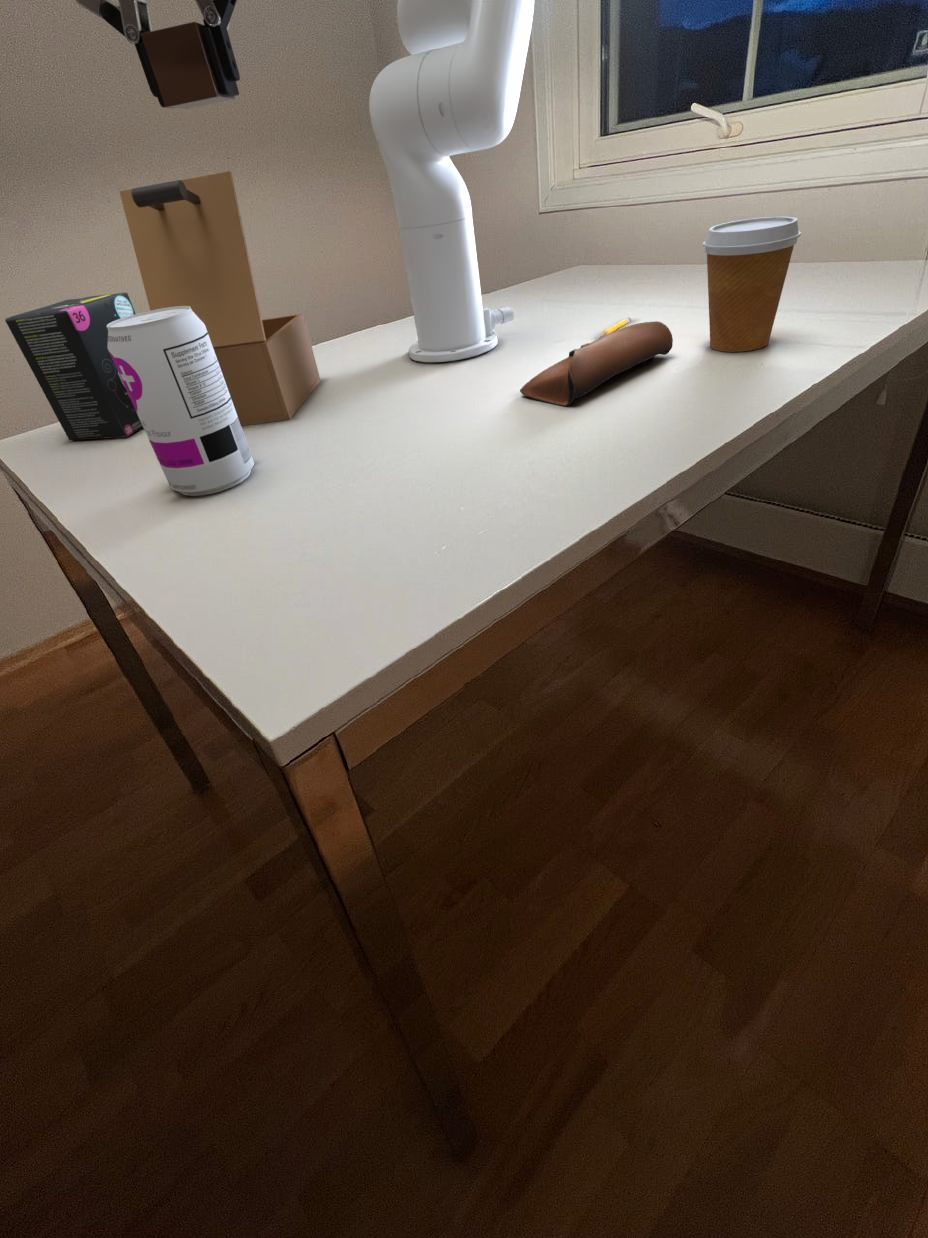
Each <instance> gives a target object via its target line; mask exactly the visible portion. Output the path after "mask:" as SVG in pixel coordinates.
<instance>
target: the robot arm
mask: <svg viewBox="0 0 928 1238" xmlns="http://www.w3.org/2000/svg"><path fill="white" fill-rule="evenodd" d="M194 1H195V3H196V5H197V8H198V9H199V12H200V14H201V15H202V17H203V19H202V22H203V25H205V28H203V29H202V30H203V32H202V34H203V38H204V41H205V45H206V48H207V52H208V55H209V58H210V62H211V65H212V69H213V72H214V75H215V79H216V82H217V85H218V89H219V91H220V93H222V94H223V95H227V96H234V97H236V96H239V95H240V91H239V88H238V84H237V82H239V81H240V80H241V76H240V75H241V74H240V71H239V68H238V64H237V61H236V57H235V53H234V50H233V45H232V43H231V39H230V35H229V32H228V31H229V29H230V27H231V19H232V15H233V13H234V10H235V7H236V5H237V1H238V0H194ZM75 2H76V3H77V4H78V5H79V6H80V7H83V8H84V9H86V10H87V11H89V12H91V13H92V14H94V15H96V16H97V17H99V18H100V19H102V20H104V21H105V22H106V23H107V24H108V25H110V26H111V27H112V28H113V29H114V30H116V31H117V32H118V33H119V34H121V35H122V36H123V37H124V38H125V39H126V40H127V42H129V43H130V44H132V45H134V48H135V50H136V53H137V55H138V58H139V61H140V64H141V67H142V70H143V73H144V76H145V79H146V82H147V84H148V87H149V90H150V92H151V94H152V96H153V97H154V98H157V100H158V103H159V105H160V107H161V108H166V109H169V108H168V107H165V104H164V101H163V98H162V95H161V92H160V89H159V86H158V83H157V80H156V77H155V74H154V71H153V68H152V65H151V62H150V59H149V56H148V53H147V50H146V48H145V45H144V42H143V39H142V36H141V33H146V32H150V31H154V28H153V23H152V16H151V10H150V4H149V3H150V2H149V0H118V5H117V4H115V3H114V2H111V1H110V0H75ZM534 10H535V0H397V4H396V22H397V24H396V25H397V30H398V34H399V38H400V40H401V42H402V45H403V47H405V49H406V50H407V52H408V53H409V54H410V55H408V56H404V57H402V58H399V59H396V60H394V61H393V62H391V63H389V64H387V65H386V66H385V67H384V68H383V69H382V70H381V71H379V73H378V74H377V76H376V77H375V78H374V81H373V83H372V85H371V89H370V92H369V100H368V109H369V110H368V111H369V119H370V123H371V128H372V130H373V134H374V137H375V140H376V143H377V145H378V148H379V151H380V154H381V157H382V160H383V163H384V166H385V170H386V174H387V177H388V181H389V185H390V190H391V194H392V199H393V203H394V209H395V214H396V215H395V216H396V220H397V227H398V233H399V238H400V244H401V250H402V255H403V261H404V268H405V273H406V279H407V284H408V291H409V296H410V301H411V307H412V314H413V319H414V324H415V330H416V335H417V336H416V337H417V341H415V342H414V343H412V344H411V345H410V346H409V347H408V353H409V358H411V360H413V361H415V362H419V363H445V362H454V361H460V360H464V359H469V358H472V357H476V356H479V355H482V354H485V353H487V352H489V351H491V350H492V349H494V348H495V347H496V346H497V344H498V343H499V342H498V335H497V333H496V332H494V331H493V329H495V328H496V327H497V325H499V324H506V323H509V322H512V321H513V320H514V317H515V314H514V310H513V309H514V308H512V307H511V306H505V307H501V308H499V309H497V310H495V309H494V308H491V309H490V308H488V307H483V299H482V291H481V290H482V289H481V282H480V273H479V264H478V257H477V256H478V255H477V246H476V238H475V229H474V221H473V210H472V209H473V208H472V202H471V201H472V200H471V197H470V193H469V191H468V188H467V185H466V183H465V181H464V179H463V177H462V175H461V173H460V172H459V171H458V169H457V167H456V166H455V165H454V164H455V163H454V162H453V161H452V159H451V158H450V157H452V156H455V155H460V154H467V153H472V152H478V151H483V150H487V149H492V148H493V147H496V146H498V145H500V144H501V143H502V142H503V141H504V140H505V139H506V138H507V137H508V135H509V134H510V132H511V131H512V128H513V125H514V122H515V118H516V115H517V111H518V105H519V101H520V95H521V89H522V83H523V78H524V71H525V67H526V60H527V54H528V50H529V43H530V39H531V38H530V37H531V32H532V27H533V26H532V25H533V18H534Z"/></svg>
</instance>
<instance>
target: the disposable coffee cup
mask: <svg viewBox="0 0 928 1238" xmlns="http://www.w3.org/2000/svg"><path fill="white" fill-rule="evenodd" d="M801 234H802V232H801V231H800V230H799V220H798V218H797V217H794V216H763V217H755V218H754V217H753V218H746V219H740V220H733V221H728V222H723V223H720V224H715V225H713V226H711V227H709V228H708V230H707V235H706V238H705V240H704V241H703V243H702V246H703V247H704V253H705V254H706V268H707V269H706V270H707V271H706V272H707V295H708V319H709V321H708V324H709V347H710V348H712V350H716V351H719V352H727V353H729V352H730V353H735V352H748V351H753V350H758V349H761V348H764V347H766V346H767V345H768V344H769V343H770V339H771V335H772V331H773V327H774V324H775V321H776V315H777V313H778V308H779V304H780V300H781V297H782V293H783V290H784V285H785V281H786V278H787V273H788V270H789V267H790V262H791V258H792V254H793V251H794V247H795V245H796V244H797V243H798V238H799V237H800V236H801Z"/></svg>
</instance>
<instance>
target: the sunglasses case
mask: <svg viewBox="0 0 928 1238" xmlns="http://www.w3.org/2000/svg"><path fill="white" fill-rule="evenodd" d="M673 342H674V339H673V335H672V331H671V330H670V328H669V326H667V325H666V324H665V323H663V322H661V321H643V322H640V323H639V322H638V323H634V324H630V325H627V326H623V327H621V328H619V329H617V330H616V331H614V332H611V333H609V334H607V335H605V336H603V337H599V338H597V339H595V340H593V341H591V342H587V343H584V344H582V345H580V347H579V348H574V349H573V350H571V351H569V352H568V356H567V357H566V358H564V359H562V360H560V361H558V362H556V363H554V364H553V365H551V366H549V367H548V368H546V369H544V370H542V371H541V372H539V373H538V374H536V375H535V376H534V377H533V378H531V379H530V380H529V381H527V382H526V383H525V384H524V385H523V386H521V388H520V389H519V392H520V393H521V394H522V395H523V396H525V397H529V398H531V399H533V400H536V401H539V402H542V403H548V404H553V405H557V406H563V407H567V406H568V405H571V403H572V402H573V401H574V400H575V398H576V399H579V398H581V397H582V396H584V395H585V394H588V393H589V392H591V391H592V390H593V389H595V388H597V387H599V386H601V385H602V384H603V383H604V382H607V381H608V380H610V379H612V378H613V377H614V376H615V375H618V374H621V373H622V372H625V371H627V370H629V369H632V368H633V367H634V366H636V365H638V364H640V363H643V362H644V363H645V362H646V361H647V360H650V359H651V358H654V357H655V356H657V355H663V356H665V355H668V354H669V352H670V351H671V350H672V349H673Z"/></svg>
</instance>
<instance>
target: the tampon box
mask: <svg viewBox="0 0 928 1238" xmlns="http://www.w3.org/2000/svg"><path fill="white" fill-rule="evenodd" d="M135 314H137V313H136V312H135V309H134V306H133V304H132V301H131V299H130V297H129V294H128V292H117V293H112V294H101V295H91V296H86V297H81V298H80V297H79V298H70V299H64V300H62V301H58V302H56V303H53V304H52V303H51V304H49V305H46V306H42V307H40V308H36V309H32V310H29V311H26V312H22V313H19V314H15V315H12V316H9V317H6V318H5V319H4V321H5V324H6V325H7V327H8V329H9V331H10V333H11V335H12V337H13V338H14V339H15V342H16V344H17V345H18V348H19V350H20V351H21V353H22V355H23V357H24V358H25V360H26V363H27V365H28V366H29V368H30V370H31V371H32V373H33V375H34V377H35V379H36V381H37V382H38V385H39V386H40V388H41V390H42V392H43V394H44V397H45V398H46V400H47V402H48V404H49V406H50V407H51V409H52V411H53V414H55V417H56V419H57V420H58V422H59V424H60V426H61V428H62V430H63V432H64V433H65V435H66V437H67V439H68V440H69V441H77V440H78V441H79V440H97V439H113V438H115V439H116V438H124V437H129V436H131V435H132V434H134V433H136V432H137V431H139V430H140V429H142V428H143V426H142V423H141V421H140V419H139V417H138V415H137V412H136V410H135V408H134V406H133V403H132V401H131V399H130V397H129V395H128V392H127V390H126V388H125V386H124V384H123V381H122V379H121V377H120V375H119V372H118V370H117V368H116V366H115V364H114V361H113V359H112V357H111V355H110V353H109V350H108V348H107V346H108V329H107V324H109V323H111V322H113V321H116V320H118V319H121V318H124V317H128V316H131V315H135Z"/></svg>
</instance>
